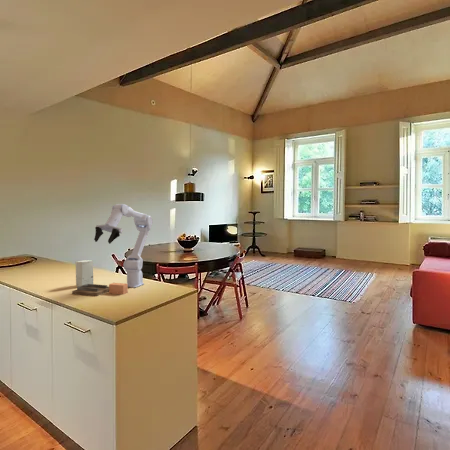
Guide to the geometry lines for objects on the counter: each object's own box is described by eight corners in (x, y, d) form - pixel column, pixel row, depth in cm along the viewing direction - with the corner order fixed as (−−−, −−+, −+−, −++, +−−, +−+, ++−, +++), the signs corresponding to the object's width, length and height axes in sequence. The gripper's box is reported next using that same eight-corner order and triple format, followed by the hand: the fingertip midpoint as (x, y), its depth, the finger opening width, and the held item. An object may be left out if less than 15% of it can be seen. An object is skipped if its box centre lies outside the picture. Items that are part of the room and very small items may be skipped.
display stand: (90, 287, 193) (89, 282, 193) (113, 289, 188) (113, 284, 188) (72, 293, 180) (72, 288, 179) (96, 296, 175) (96, 290, 175)
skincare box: (82, 287, 194) (81, 262, 193) (75, 286, 197) (74, 261, 196) (94, 284, 201) (93, 260, 200) (87, 283, 204) (86, 259, 203)
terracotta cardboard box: (113, 291, 185) (113, 282, 184) (127, 292, 182) (127, 283, 182) (109, 293, 181) (109, 284, 180) (123, 294, 178) (123, 285, 178)
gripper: (98, 215, 176) (86, 234, 167) (123, 218, 173) (112, 238, 165) (102, 223, 181) (91, 243, 173) (127, 226, 178) (117, 246, 170)
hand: (102, 241), depth 169 cm, fingers open, 7 cm apart
